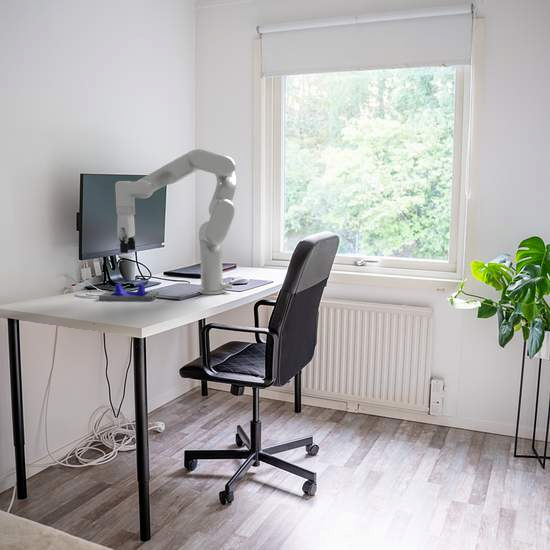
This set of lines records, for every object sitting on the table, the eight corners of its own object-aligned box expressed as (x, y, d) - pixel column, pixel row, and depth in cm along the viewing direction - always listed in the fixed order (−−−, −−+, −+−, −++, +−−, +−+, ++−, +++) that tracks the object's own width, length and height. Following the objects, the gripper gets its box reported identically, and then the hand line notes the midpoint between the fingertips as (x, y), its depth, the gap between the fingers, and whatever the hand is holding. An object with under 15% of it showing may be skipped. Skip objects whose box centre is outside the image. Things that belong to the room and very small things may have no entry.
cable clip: (114, 299, 274) (114, 285, 274) (118, 297, 279) (117, 283, 278) (141, 299, 273) (141, 285, 272) (145, 297, 277) (144, 284, 276)
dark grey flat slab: (159, 296, 279) (158, 291, 278) (152, 301, 269) (152, 295, 268) (107, 295, 281) (107, 290, 280) (99, 300, 271) (99, 295, 271)
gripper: (123, 209, 278) (125, 248, 281) (110, 212, 261) (112, 254, 264) (140, 209, 277) (142, 248, 280) (128, 212, 260) (130, 254, 263)
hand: (128, 251), depth 272 cm, fingers open, 9 cm apart
